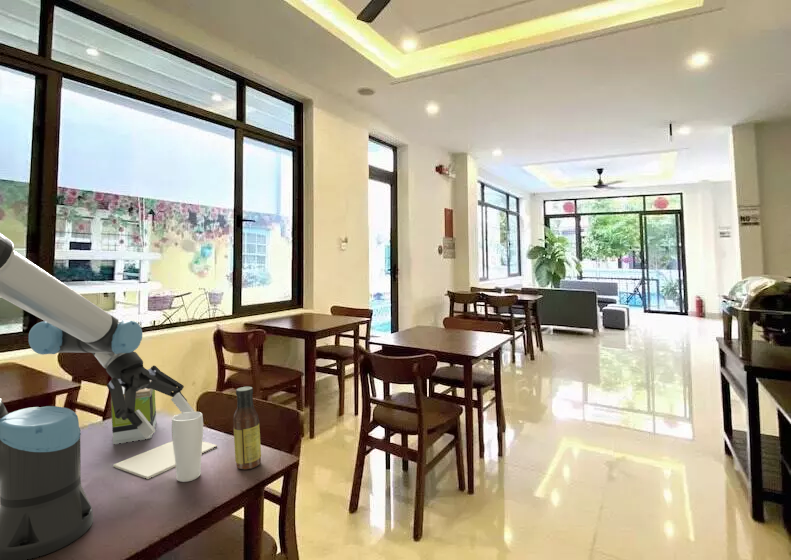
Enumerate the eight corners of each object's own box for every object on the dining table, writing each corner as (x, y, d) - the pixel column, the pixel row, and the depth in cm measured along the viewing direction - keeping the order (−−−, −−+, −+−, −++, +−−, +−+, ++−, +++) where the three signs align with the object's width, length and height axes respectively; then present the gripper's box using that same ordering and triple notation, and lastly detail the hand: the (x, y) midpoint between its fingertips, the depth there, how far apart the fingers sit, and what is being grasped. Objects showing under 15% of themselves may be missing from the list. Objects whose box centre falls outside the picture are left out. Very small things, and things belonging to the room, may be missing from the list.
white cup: (191, 486, 97) (190, 422, 97) (166, 483, 99) (164, 420, 98) (209, 472, 104) (208, 412, 103) (185, 469, 105) (184, 410, 105)
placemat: (147, 479, 100) (147, 476, 100) (113, 466, 107) (113, 464, 107) (217, 447, 118) (217, 445, 118) (184, 438, 125) (184, 436, 125)
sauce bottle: (264, 459, 110) (263, 384, 110) (256, 471, 104) (254, 391, 104) (239, 459, 111) (238, 384, 110) (230, 471, 104) (228, 391, 104)
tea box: (120, 427, 134) (119, 381, 133) (157, 422, 138) (156, 377, 137) (111, 445, 120) (110, 394, 119) (152, 439, 124) (151, 389, 124)
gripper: (148, 358, 120) (195, 415, 117) (64, 383, 95) (121, 455, 93) (165, 341, 118) (212, 398, 116) (83, 361, 94) (141, 434, 92)
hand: (172, 424), depth 105 cm, fingers open, 13 cm apart
